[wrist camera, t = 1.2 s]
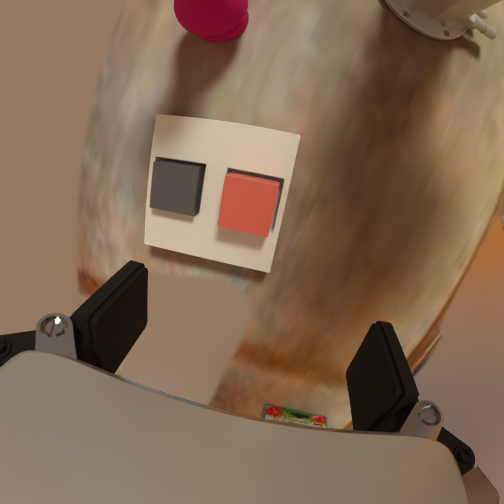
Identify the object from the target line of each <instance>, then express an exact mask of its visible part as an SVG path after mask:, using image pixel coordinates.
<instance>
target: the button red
mask: <svg viewBox="0 0 504 504" xmlns="http://www.w3.org/2000/svg"><path fill="white" fill-rule="evenodd" d="M279 184H280V182H277V181H273V180H268V179H263V178H258V177H253V176H248V175H243V174H238V173H233V172H230V173H228V174H227V175H225V179H224V185H223V191H222V197H221V204H220V210H219V217H218V223H217V226H219V227H224V228H228V229H233V230H238V231H242V232H247V233H251V234H256V235H260V236H265V237H268V235H269V231H270V226H271V221H272V217H273V212H274V208H275V203H276V198H277V194H278V189H279Z"/></svg>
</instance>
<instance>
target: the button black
mask: <svg viewBox="0 0 504 504" xmlns="http://www.w3.org/2000/svg"><path fill="white" fill-rule="evenodd" d="M205 168H206V166H205V165H199V164H192V163H186V162H179V161H172V160H165V159H163V160H159V161H154V162H153V171H152V182H151V193H150V206H149V208H154V209H159V210H164V211H170V212H175V213H180V214H184V215H189V216H193V215H194V214H195V213H197V212H198V211H199V210H200V203H201V195H202V188H203V181H204V174H205Z"/></svg>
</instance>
